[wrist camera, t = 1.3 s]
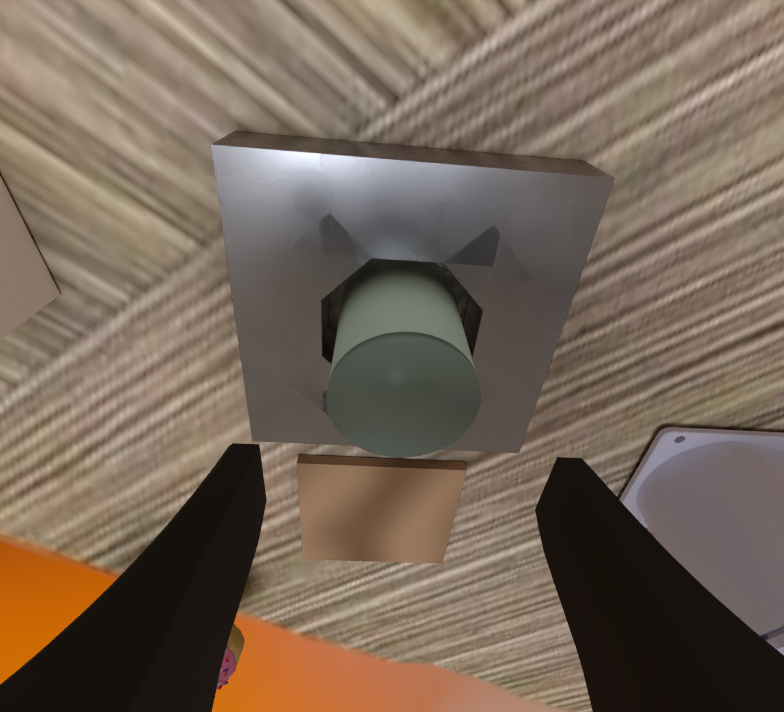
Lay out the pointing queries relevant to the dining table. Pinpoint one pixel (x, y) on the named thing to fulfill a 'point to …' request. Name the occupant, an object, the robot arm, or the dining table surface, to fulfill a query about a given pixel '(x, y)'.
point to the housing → (398, 242)
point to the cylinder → (401, 361)
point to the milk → (20, 270)
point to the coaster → (377, 508)
